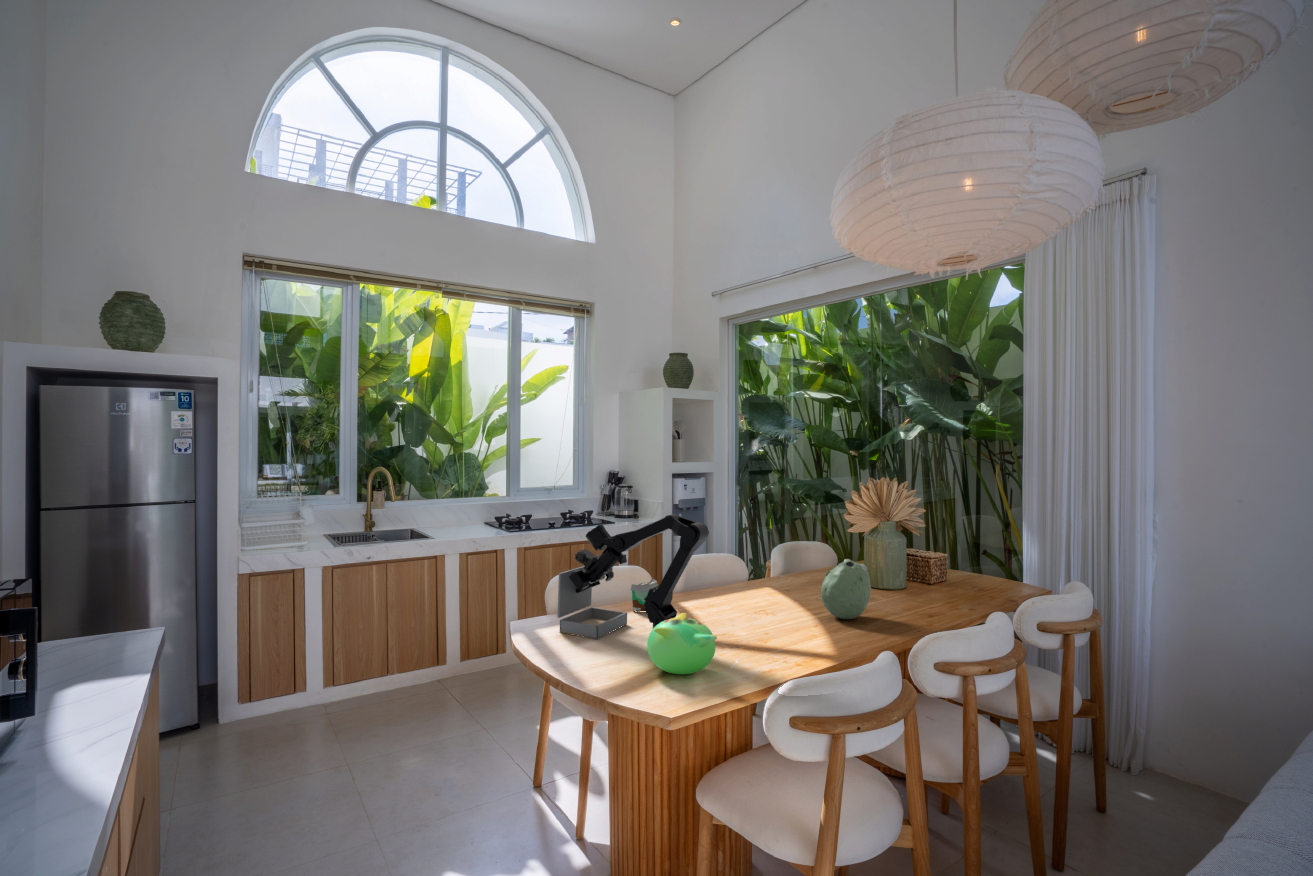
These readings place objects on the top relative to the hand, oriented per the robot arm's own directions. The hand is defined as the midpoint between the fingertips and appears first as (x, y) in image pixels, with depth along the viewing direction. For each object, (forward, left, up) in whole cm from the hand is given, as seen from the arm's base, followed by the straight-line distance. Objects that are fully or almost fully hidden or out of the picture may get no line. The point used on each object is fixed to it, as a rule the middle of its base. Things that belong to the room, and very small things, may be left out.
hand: (576, 591), depth 208 cm
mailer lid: (0, 0, +1) cm, 1 cm away
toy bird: (-53, -6, -11) cm, 54 cm away
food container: (+4, -30, -11) cm, 32 cm away
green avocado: (-39, -84, -11) cm, 93 cm away
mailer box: (-6, -3, -11) cm, 13 cm away
